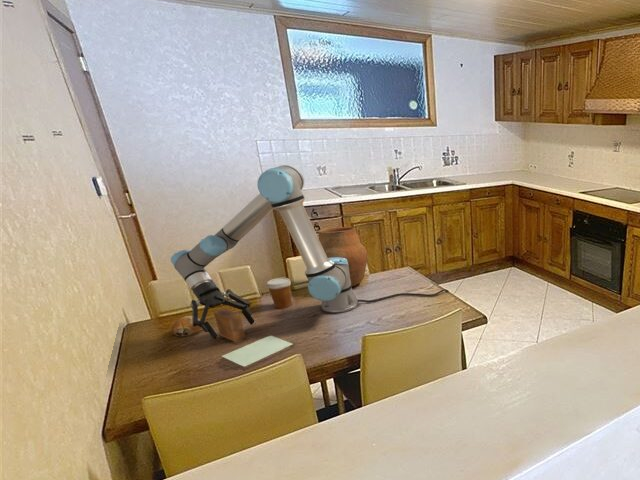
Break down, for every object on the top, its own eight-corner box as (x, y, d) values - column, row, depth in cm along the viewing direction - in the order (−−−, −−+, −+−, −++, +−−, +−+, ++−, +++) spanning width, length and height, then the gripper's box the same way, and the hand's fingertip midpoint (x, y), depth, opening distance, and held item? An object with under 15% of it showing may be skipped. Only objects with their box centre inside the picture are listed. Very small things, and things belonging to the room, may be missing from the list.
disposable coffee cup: (284, 310, 190) (279, 285, 186) (266, 308, 192) (260, 283, 188) (299, 302, 199) (295, 278, 195) (282, 300, 201) (277, 276, 196)
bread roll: (208, 337, 174) (212, 318, 174) (181, 338, 164) (185, 317, 164) (191, 333, 177) (195, 314, 177) (164, 334, 167) (168, 313, 167)
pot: (365, 274, 236) (358, 220, 225) (376, 288, 217) (368, 230, 206) (317, 281, 223) (307, 226, 213) (324, 297, 205) (314, 236, 194)
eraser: (231, 333, 170) (225, 308, 166) (246, 339, 165) (239, 314, 161) (220, 337, 166) (213, 312, 162) (235, 344, 162) (228, 318, 158)
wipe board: (271, 337, 167) (270, 335, 166) (294, 346, 161) (293, 343, 160) (221, 359, 152) (221, 356, 152) (245, 369, 146) (244, 366, 145)
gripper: (234, 281, 176) (264, 322, 175) (163, 302, 156) (196, 348, 155) (239, 271, 172) (269, 313, 171) (166, 291, 152) (200, 339, 150)
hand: (234, 330), depth 163 cm, fingers open, 13 cm apart
